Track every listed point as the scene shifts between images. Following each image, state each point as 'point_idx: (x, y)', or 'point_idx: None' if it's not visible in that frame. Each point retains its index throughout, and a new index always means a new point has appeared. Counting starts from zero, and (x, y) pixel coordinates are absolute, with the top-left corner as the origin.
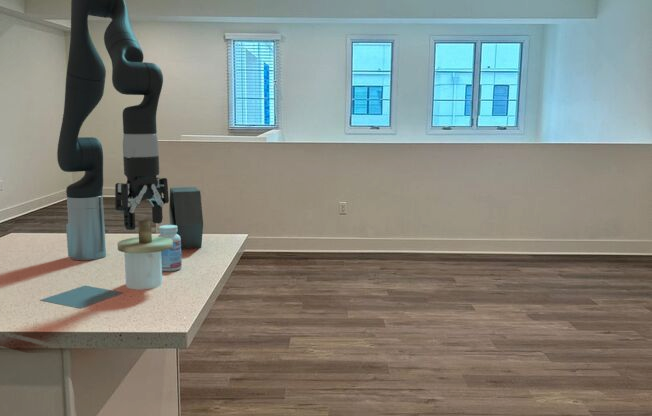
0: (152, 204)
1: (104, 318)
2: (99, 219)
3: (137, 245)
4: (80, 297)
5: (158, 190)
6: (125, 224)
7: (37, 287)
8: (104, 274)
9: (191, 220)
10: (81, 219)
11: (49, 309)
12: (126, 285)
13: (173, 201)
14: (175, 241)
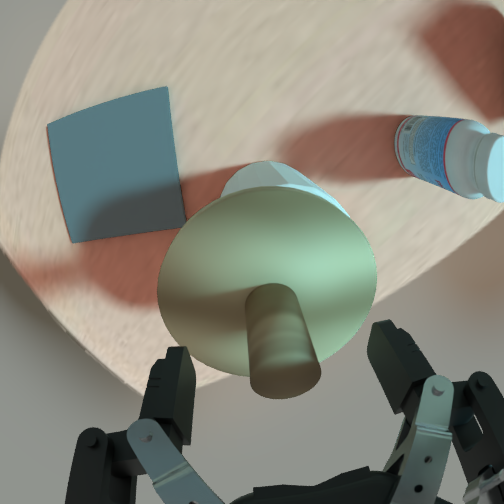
0: (419, 397)
1: (91, 303)
2: None
3: (208, 325)
4: (100, 175)
5: (486, 449)
6: (153, 375)
7: (114, 4)
8: (293, 23)
9: None
10: None
11: (45, 181)
12: (224, 188)
13: None
14: (462, 196)
